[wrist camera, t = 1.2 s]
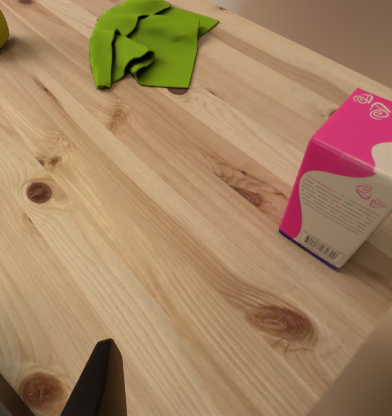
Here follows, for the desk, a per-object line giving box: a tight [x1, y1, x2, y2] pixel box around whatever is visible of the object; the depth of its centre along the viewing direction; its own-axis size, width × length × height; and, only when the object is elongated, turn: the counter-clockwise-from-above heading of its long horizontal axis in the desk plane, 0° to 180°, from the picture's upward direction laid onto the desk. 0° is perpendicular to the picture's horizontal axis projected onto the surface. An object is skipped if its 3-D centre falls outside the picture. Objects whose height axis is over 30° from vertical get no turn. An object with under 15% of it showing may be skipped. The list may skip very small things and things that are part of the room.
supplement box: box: [279, 88, 392, 271], centre depth 22 cm, size 6×6×12 cm
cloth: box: [89, 0, 219, 89], centre depth 42 cm, size 20×22×2 cm
